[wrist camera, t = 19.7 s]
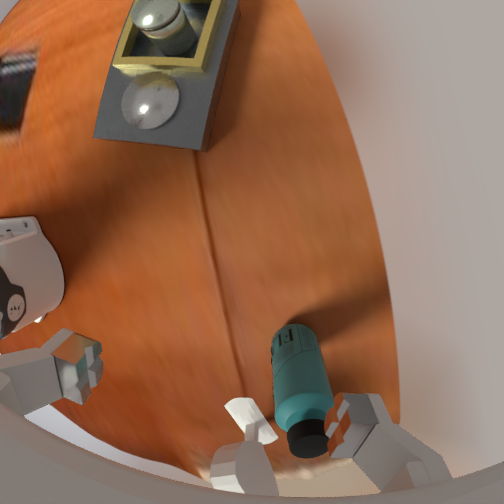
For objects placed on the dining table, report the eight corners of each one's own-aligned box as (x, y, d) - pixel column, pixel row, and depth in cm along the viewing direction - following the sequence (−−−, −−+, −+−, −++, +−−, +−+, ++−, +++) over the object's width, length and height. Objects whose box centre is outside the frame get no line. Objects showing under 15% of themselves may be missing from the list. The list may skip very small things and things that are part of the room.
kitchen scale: (206, 152, 35) (196, 148, 29) (108, 140, 35) (84, 136, 29) (240, 14, 30) (237, -9, 24) (144, 11, 29) (128, -7, 24)
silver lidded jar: (152, 54, 30) (122, 26, 21) (167, 12, 28) (144, -22, 19) (189, 57, 30) (168, 26, 21) (204, 13, 28) (188, -24, 19)
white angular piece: (218, 398, 44) (201, 487, 27) (246, 390, 44) (239, 483, 26) (257, 449, 48) (254, 527, 30) (282, 443, 47) (285, 523, 30)
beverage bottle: (290, 308, 40) (308, 415, 20) (326, 332, 41) (362, 439, 21) (260, 341, 41) (257, 453, 22) (296, 363, 42) (311, 473, 23)
